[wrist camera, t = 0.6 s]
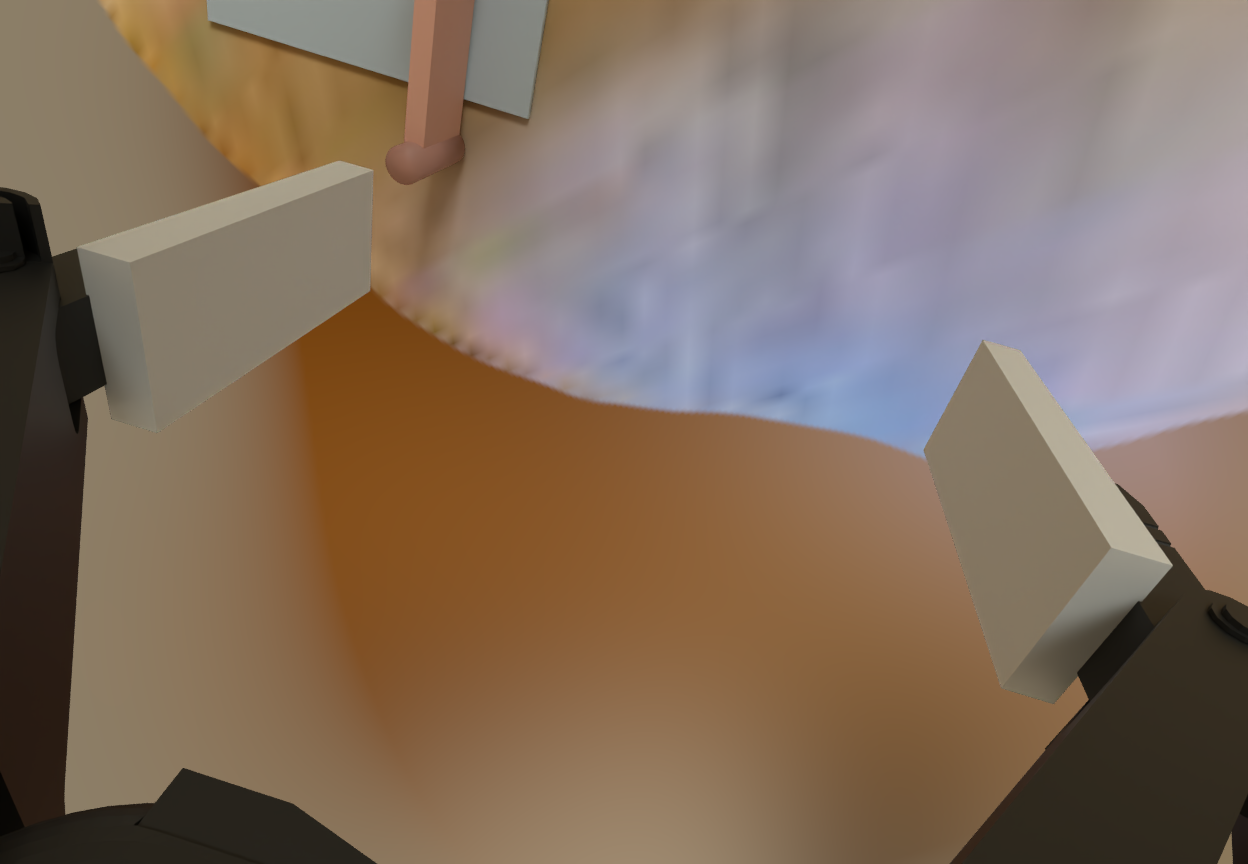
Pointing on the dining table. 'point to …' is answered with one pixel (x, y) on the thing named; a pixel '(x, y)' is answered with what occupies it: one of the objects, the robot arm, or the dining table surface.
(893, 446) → the dining table surface
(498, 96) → the mat
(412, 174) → the fence panel
